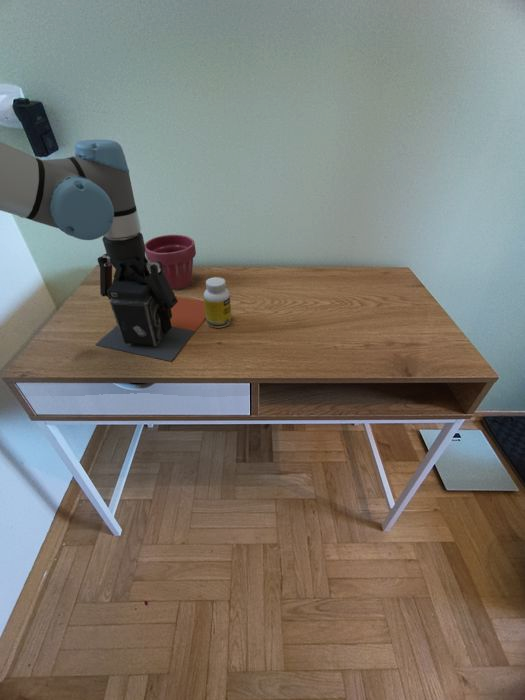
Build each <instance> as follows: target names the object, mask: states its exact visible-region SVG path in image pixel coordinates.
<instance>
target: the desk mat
mask: <svg viewBox="0 0 525 700" xmlns="http://www.w3.org/2000/svg"><path fill="white" fill-rule="evenodd" d="M175 297H176V299H177V301H178V302H177V303H176V304H175V305H174V306H173V308H171V313H172V318H171V319H170V321H171V326H172V328H171V329H170V330H169V331H168V332H167V333H166V334H165V333H164V335H163V337H162V338H161V340H160V342H159V344H158V345H157V346H155V347H154V346H153V345H141V344H131V345H130V344H128V343H127V344H125V343H124V342H123V340H122V337H121V334H120V331H119V328H118V325H117V324H116V326H115V327H113V329H111V330H110V331H109V332H108V333H107V334H106V335H104V336H103V337H102V338H101V339H100V340H99V341H98V342H96V344H95V346H96V347H101V348H106V349H109V350H114V351H118V352H124V353H128V354H131V355H132V354H133V355H136V356H143V357H147V358H151V359H156V360H160V361H165V362H169V363H172V362H173V361H174V360H175V359H176V358H177V356H178V355H179V353H180V352H181V351H182V349H183V348H184V347H185V346H186V345H187V343H188V342H189V340H190V339H191V338H192V337H193V336H194V335H195V333H196V331H197V330H198V329H199V328H200V327H201V326H202V324H203V323H204V322H205V320H206V312H205V304H204V300H199V299H194V298H193V299H192V298H187V297H183V296H182V297H181V296H176V295H175Z"/></svg>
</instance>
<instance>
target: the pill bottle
mask: <svg viewBox="0 0 525 700" xmlns="http://www.w3.org/2000/svg"><path fill="white" fill-rule="evenodd" d="M205 286H206V287H205V288H206V289H205V290H204V293H203V301H204V304H205V312H206V319H205V320H206V323H207V324H208V326H209V327H212V328H215V329H216V328H217V329H220V328H221V329H222V328H225V327H227V326H228V325H230V324H231V322H232V311H231V308H232V307H231V293H230V290H229V289H228V288H226V286H227V285H226V279H224V278H223V277H218V276H214V277H209V278H208V279H206V281H205Z"/></svg>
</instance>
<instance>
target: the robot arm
mask: <svg viewBox="0 0 525 700" xmlns="http://www.w3.org/2000/svg"><path fill="white" fill-rule="evenodd" d="M73 146H74V151H75V152H74V154H75V155H74V156H70V157H66V158H52V159H41V158H38V157H36V156H34V155H32V154H31V153H27V152H25V151H23V150H20V149H18V148H16V147H14V146H11V145H9V144H6V143H4V142H2V141H0V211H1V212H4V213H8V214H11V215H14V216H18V217H19V218H23V219H26V220H27V219H28V220H30V221H32V222H36V223H38V224H43V225H46V226H49V227H53V228H56V229H58V230H60V231H61V232H63V233H64V234H65V235H67V236H70V237H73V238H75V239H78V240H80V241H81V240H83V241H94V240H97V239H100V238H102V243H103V246H104V247H103V248H104V249H105V252H106V253H104V254H102V255H100V256H99V257H97V264H98V266H99V284H100V285H99V289H100V290H99V292H100V295H101V297H107V298H108V300H109V301H110V300H111V298H112V297H109V296H108V293H107V290H108V289H109V288H110V287H111V285H112V284H113V283H114V282H115V281H116V280H118V281H119V280H121V279H122V278H123V277H124V278H125V279H133V280H137V281H138V282H139V284H141V285H148V286H149V287H150V292H149V294H150V295H151V296H152V297H153V299H154V300H155V301H156V302H157V304H158V305H159V306H160V308H159V309H158V312H159V317H160V321H161V326H162V330H163V333H165V334H166V333H167V332H168V331H169V330H170V329H171V328H172V326H171V321H170V319H171V318H172V313H171V308H173V306H174V305H175V304H176V303H177V302H178V301H177V299H176V297H177V296H176V294H175V293H174V290H172V289H171V287H170V285H169V283H168V281H167V279H166V277H165V275H164V273H163V269H162V264H161V262H160V261H157V262H156V263H153V262H150V261H148V259H147V256H146V252H145V250H146V249H145V240H144V235H143V233H142V232H141V231H142V227H141V223H140V217H139V213H138V210H137V205H136V201H135V200H136V199H135V197H134V191H133V186H132V181H131V175H130V169H129V167H128V163H127V159H126V155H125V153H124V150H123V147H122V145H121V144H120V143H119V142H117V141H115V140H112V139H85V140H79V141H78V140H77V141H76V142H75V143H74V145H73ZM113 268H114V269H115V270H114V274H113ZM144 275H145V276H146V277H145V278H144V279H143V278H142V277H143V276H144ZM152 277H153V278H152ZM175 296H176V297H175Z"/></svg>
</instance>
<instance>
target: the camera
mask: <svg viewBox="0 0 525 700" xmlns="http://www.w3.org/2000/svg"><path fill="white" fill-rule="evenodd" d="M145 277H146V276H145V275H144V276H143V277H142V278H143V279H144V278H145ZM152 278H153V277H152ZM112 283H113V282H112ZM149 292H150V287H149V286H148V285H141V284H139V282H138V281H137V280H133V279H125V278H124V277H123V278H122V279H121V280H119V281H118V280H116V281H115V282H114V283H113V284H112V285H111V287H110V288H109V289H108V290H107V293H108V296H109V297H112V298H111V300H110V299H109V305H110V307H111V310H112V312H113V317H114V320H115V322H116V326H117V325H118V328H119V331H120V334H121V337H122V340H123V342H124V343H125V344H127V343H128V344H130V345H131V344H141V345H153V346H154V347H155V346H157V345H158V344H159V342H160V340H161V338H162V337H163V335H164V333H163V330H162V326H161V321H160V317H159V312H158V309H159V308H160V306H159V305H158V304H157V302H156V301H155V300H154V299H153V297H152V296H151V295H150V294H149Z"/></svg>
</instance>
